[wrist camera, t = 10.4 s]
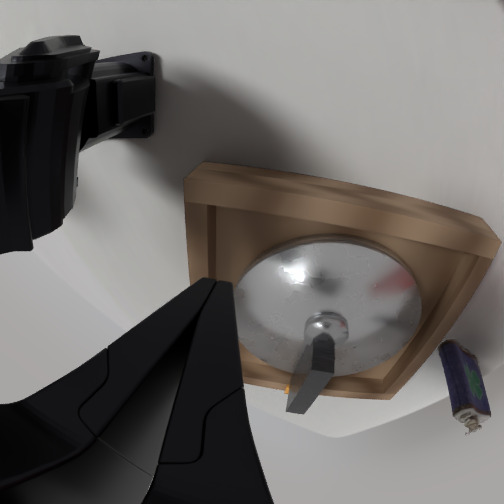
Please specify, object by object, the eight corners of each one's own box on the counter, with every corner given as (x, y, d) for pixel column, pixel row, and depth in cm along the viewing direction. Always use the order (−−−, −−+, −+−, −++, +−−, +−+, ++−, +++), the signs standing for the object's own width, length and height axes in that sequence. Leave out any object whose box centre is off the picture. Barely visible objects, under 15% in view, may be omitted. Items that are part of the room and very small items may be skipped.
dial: (243, 210, 19) (221, 257, 15) (450, 260, 18) (474, 310, 14) (226, 353, 29) (213, 396, 25) (367, 379, 28) (368, 420, 24)
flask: (479, 358, 26) (496, 429, 17) (462, 370, 28) (475, 440, 19) (451, 335, 24) (471, 422, 16) (431, 349, 26) (445, 434, 18)
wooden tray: (209, 349, 32) (199, 376, 29) (203, 161, 19) (180, 181, 16) (387, 375, 30) (390, 402, 27) (481, 217, 17) (504, 245, 14)
